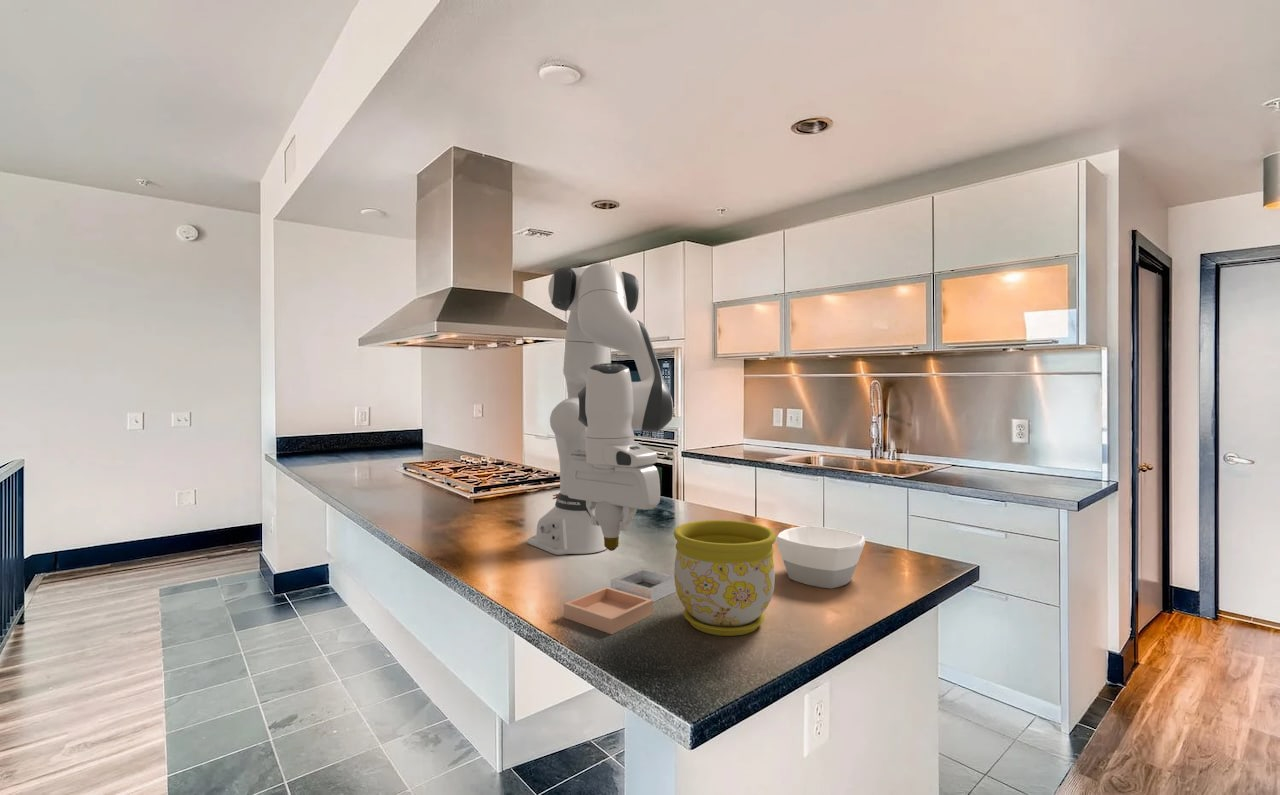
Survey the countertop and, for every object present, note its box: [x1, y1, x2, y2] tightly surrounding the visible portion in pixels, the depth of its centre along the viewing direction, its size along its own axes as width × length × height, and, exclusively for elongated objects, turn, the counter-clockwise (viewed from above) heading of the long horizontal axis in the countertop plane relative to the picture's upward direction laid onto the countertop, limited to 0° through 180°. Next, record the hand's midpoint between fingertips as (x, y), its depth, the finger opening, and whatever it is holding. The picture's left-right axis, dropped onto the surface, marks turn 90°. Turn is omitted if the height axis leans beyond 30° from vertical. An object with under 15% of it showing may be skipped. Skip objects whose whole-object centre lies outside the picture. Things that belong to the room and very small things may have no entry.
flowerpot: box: [673, 519, 777, 637], centre depth 108 cm, size 18×18×16 cm
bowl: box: [775, 525, 866, 590], centre depth 132 cm, size 18×18×9 cm
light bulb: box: [595, 501, 626, 552], centre depth 111 cm, size 6×6×10 cm
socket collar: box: [610, 567, 677, 603], centre depth 125 cm, size 10×10×2 cm
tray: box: [563, 586, 654, 635], centre depth 111 cm, size 12×12×3 cm
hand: (611, 527), depth 111 cm, fingers closed on light bulb, 5 cm apart
